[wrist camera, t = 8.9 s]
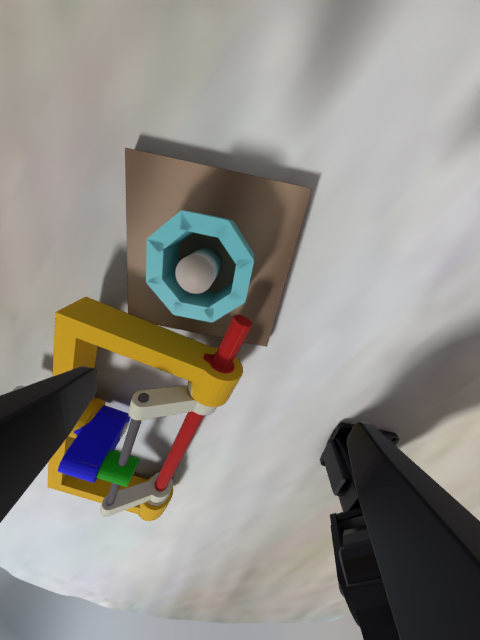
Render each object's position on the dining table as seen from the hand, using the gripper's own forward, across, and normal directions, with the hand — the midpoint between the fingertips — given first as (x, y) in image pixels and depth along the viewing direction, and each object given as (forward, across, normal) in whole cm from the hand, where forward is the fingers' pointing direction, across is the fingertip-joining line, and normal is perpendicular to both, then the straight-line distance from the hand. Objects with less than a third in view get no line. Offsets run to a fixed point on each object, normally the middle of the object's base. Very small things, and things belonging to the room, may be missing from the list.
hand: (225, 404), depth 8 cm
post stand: (+12, +3, -2) cm, 13 cm away
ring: (+11, +3, -2) cm, 12 cm away
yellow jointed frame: (+12, +10, +14) cm, 21 cm away
